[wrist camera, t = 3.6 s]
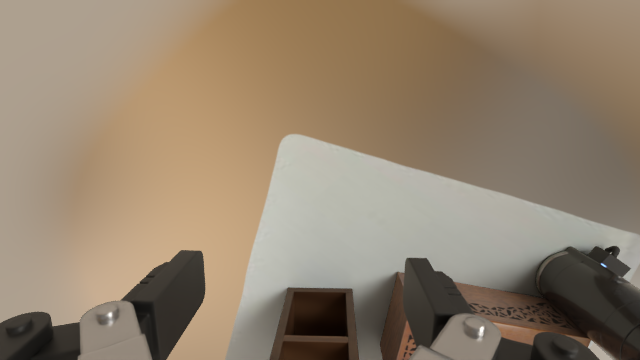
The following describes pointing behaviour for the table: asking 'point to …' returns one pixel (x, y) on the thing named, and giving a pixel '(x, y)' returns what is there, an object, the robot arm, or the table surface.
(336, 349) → the shelf
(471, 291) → the tissue box cover
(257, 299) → the table surface
